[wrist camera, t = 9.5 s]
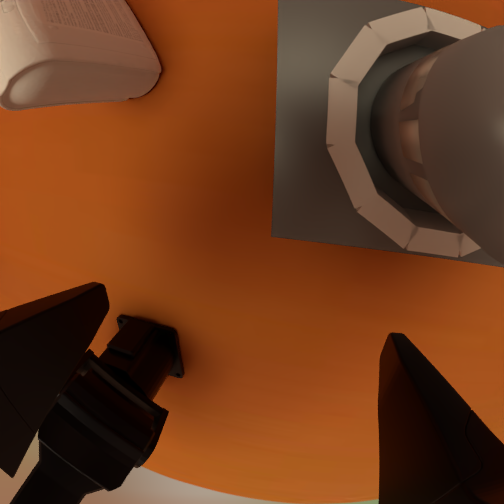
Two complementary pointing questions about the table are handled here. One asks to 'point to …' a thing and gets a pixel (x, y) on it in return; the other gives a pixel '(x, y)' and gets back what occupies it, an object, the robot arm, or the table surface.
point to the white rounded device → (72, 53)
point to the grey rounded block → (450, 134)
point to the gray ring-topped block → (353, 127)
